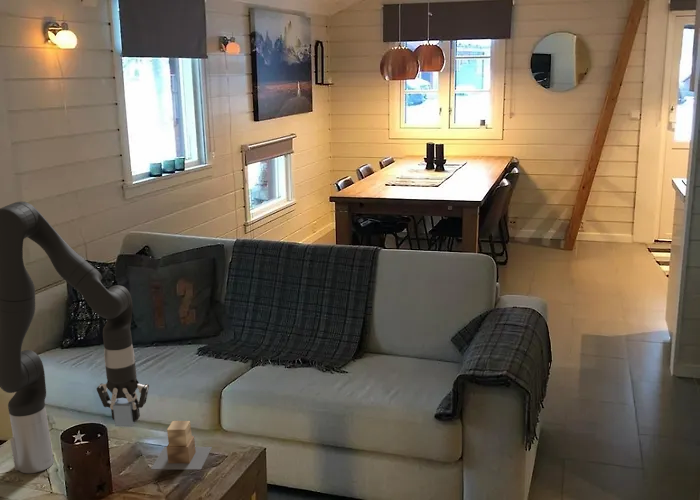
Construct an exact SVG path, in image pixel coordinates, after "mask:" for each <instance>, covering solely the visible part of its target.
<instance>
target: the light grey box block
mask: <svg viewBox="0 0 700 500" xmlns="http://www.w3.org/2000/svg"><path fill="white" fill-rule="evenodd" d="M113 410H114V419H115V421H114V426H115V427H130V428H131V427H133V426H134V424H135V423H136V422H133V416H132V407H131V404H130V403H129V402H128V400H127V398H119V400H118V401H117V402H116V404H114V405H113Z"/></svg>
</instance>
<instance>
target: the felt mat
mask: <svg viewBox="0 0 700 500" xmlns="http://www.w3.org/2000/svg"><path fill="white" fill-rule="evenodd" d="M212 449H213V447H212V446H195V451H196V453H195V454H194V456H193V458H192V460H191V462H190V463H168V455H167V446H164V447H163V448H162V450H161V452H160V453H159V454H158V456H157V458H156V460H155V461H154V462H153V465H152V466H151V468H150V469H151V470H198V471H199V470H202V468H203V467H204V464H205V463H206V461H207V458H208V456H209V454H210V453H211V450H212Z"/></svg>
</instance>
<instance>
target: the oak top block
mask: <svg viewBox="0 0 700 500" xmlns="http://www.w3.org/2000/svg"><path fill="white" fill-rule="evenodd" d="M192 436H193V434H192V426H191V421H190V420H172V421H171V422H170V425H168V427H167V440H168V442H167V443H168V444H169V446H187V445H188V443H189V441H190V439H191V438H192Z"/></svg>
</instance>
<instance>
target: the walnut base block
mask: <svg viewBox="0 0 700 500" xmlns="http://www.w3.org/2000/svg"><path fill="white" fill-rule="evenodd" d="M166 447H167V455H168V463H190V462H191V460H192V458H193V456H194V454H195V453H196V451H195V447H196V442H195V436H194V435H192V438H191V439H190V441H189V443H188V445H187V446H169V443H168V444H167V445H166Z"/></svg>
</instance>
